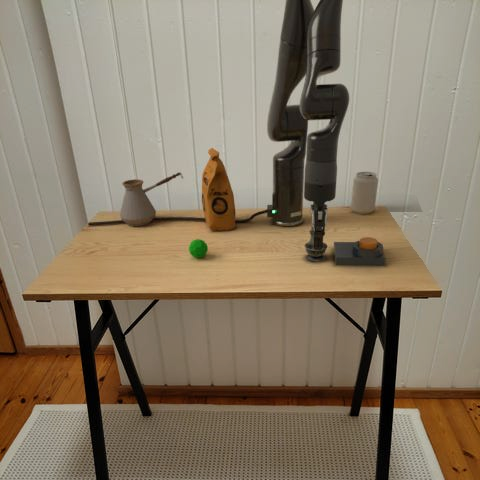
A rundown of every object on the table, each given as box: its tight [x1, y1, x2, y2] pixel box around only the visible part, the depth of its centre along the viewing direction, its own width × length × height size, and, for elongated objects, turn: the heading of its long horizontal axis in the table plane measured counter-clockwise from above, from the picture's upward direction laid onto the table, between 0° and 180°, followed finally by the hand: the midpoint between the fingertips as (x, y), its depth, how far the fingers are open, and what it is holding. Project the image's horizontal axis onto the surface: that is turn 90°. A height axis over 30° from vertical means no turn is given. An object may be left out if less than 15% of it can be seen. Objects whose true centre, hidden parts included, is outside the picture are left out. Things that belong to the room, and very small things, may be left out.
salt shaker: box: [303, 223, 328, 264], centre depth 116 cm, size 6×6×12 cm
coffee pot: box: [119, 171, 184, 227], centre depth 143 cm, size 21×12×15 cm, turn 95°
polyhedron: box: [188, 238, 209, 259], centre depth 121 cm, size 5×5×5 cm
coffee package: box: [201, 147, 237, 232], centre depth 136 cm, size 10×12×22 cm
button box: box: [332, 240, 386, 267], centre depth 117 cm, size 12×10×4 cm
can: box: [350, 171, 379, 215], centre depth 145 cm, size 8×8×12 cm
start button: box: [358, 236, 379, 250], centre depth 114 cm, size 4×4×2 cm
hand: (317, 242), depth 116 cm, fingers open, 8 cm apart
